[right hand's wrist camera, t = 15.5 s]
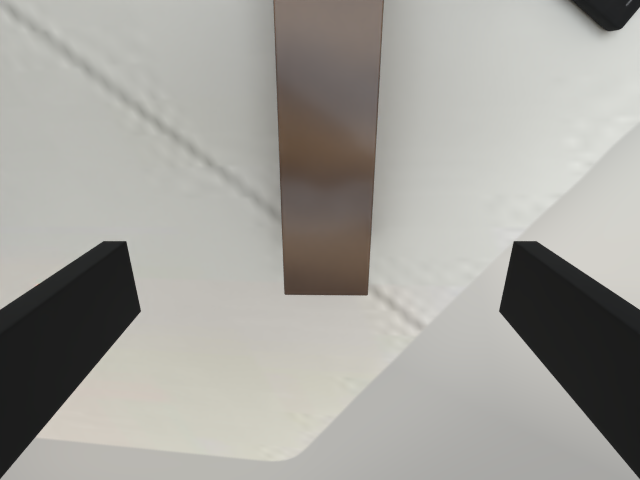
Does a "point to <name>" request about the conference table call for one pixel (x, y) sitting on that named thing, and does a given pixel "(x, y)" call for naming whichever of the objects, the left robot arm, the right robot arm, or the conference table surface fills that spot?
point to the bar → (327, 140)
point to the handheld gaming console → (610, 11)
